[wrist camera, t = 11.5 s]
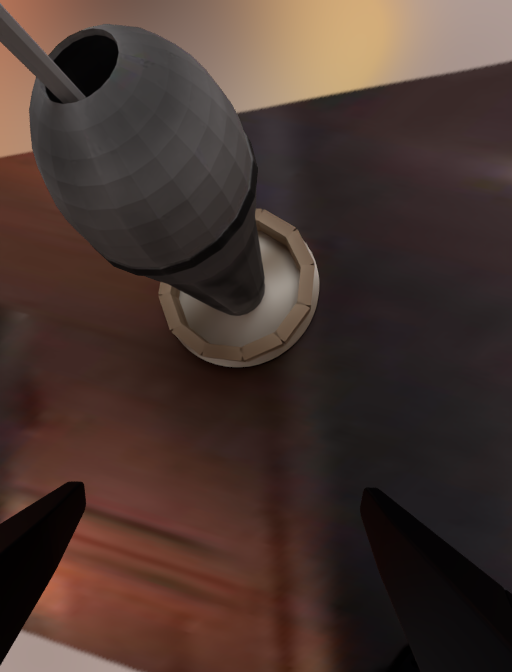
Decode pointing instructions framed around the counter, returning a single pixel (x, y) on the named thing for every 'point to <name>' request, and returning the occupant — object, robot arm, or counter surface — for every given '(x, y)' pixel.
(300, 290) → the ring holder
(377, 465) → the counter surface
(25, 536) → the robot arm
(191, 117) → the beverage cup
